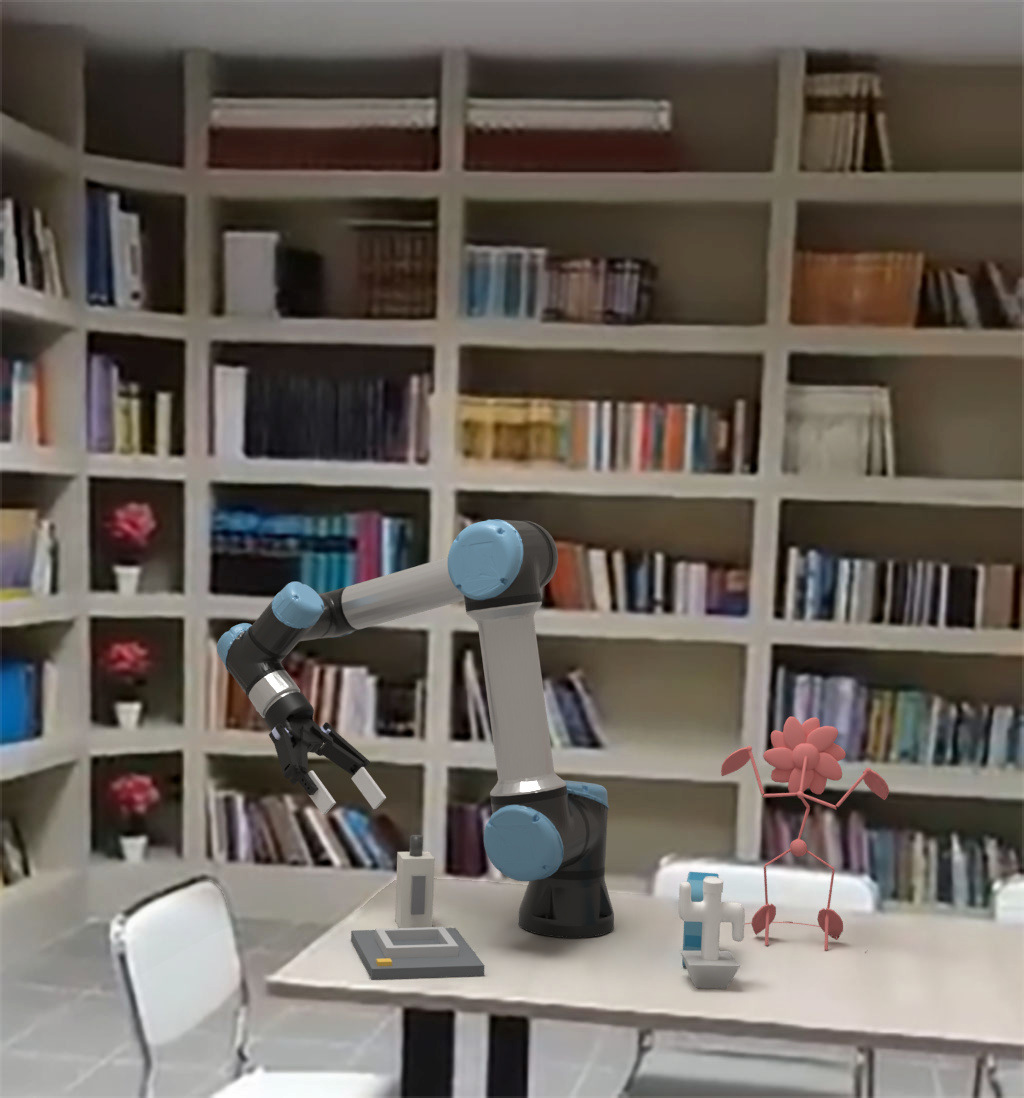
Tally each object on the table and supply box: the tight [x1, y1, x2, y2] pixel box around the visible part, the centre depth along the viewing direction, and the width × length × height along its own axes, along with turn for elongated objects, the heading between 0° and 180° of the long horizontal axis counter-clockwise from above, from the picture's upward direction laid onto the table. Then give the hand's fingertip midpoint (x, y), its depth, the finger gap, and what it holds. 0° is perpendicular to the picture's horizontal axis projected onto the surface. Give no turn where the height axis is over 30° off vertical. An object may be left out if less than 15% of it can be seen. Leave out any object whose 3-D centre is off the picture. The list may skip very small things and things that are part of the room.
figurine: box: [678, 876, 746, 989], centre depth 234 cm, size 7×9×15 cm
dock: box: [350, 926, 485, 981], centre depth 241 cm, size 16×20×3 cm
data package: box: [681, 871, 719, 968], centre depth 246 cm, size 12×4×12 cm, turn 171°
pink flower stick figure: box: [720, 716, 890, 954], centre depth 260 cm, size 15×26×35 cm, turn 81°
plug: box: [394, 834, 436, 928], centre depth 259 cm, size 5×6×14 cm
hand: (355, 806), depth 258 cm, fingers open, 13 cm apart
